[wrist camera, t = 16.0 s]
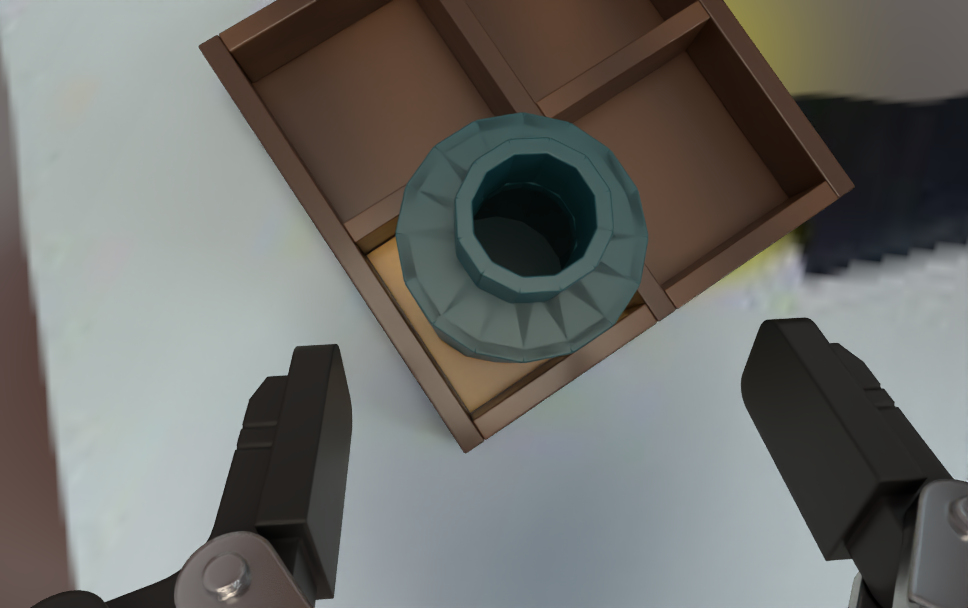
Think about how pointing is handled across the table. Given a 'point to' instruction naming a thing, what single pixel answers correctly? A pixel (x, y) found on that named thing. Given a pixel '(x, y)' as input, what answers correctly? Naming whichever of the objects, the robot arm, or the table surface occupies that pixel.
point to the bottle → (521, 238)
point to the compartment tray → (541, 91)
